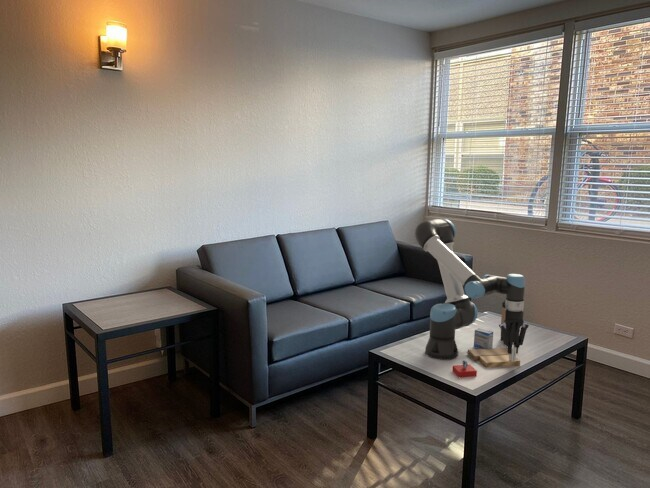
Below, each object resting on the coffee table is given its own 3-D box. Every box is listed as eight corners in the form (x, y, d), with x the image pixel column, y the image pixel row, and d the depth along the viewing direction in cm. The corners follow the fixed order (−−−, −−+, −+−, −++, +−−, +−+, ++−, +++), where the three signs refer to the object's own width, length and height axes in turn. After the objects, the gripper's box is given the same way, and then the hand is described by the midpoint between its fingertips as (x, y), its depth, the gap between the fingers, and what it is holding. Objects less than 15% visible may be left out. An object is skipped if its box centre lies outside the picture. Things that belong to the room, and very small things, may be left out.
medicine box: (473, 346, 252) (474, 330, 250) (477, 344, 255) (478, 327, 253) (488, 350, 246) (489, 333, 245) (492, 348, 249) (493, 331, 248)
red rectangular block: (469, 370, 225) (470, 356, 224) (476, 376, 218) (477, 362, 217) (452, 371, 223) (452, 357, 222) (458, 378, 217) (459, 364, 216)
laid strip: (474, 361, 234) (474, 356, 234) (467, 354, 242) (467, 349, 241) (515, 358, 236) (516, 353, 236) (507, 352, 244) (507, 347, 244)
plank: (485, 367, 227) (486, 362, 226) (479, 361, 234) (479, 356, 233) (519, 365, 229) (520, 360, 228) (512, 359, 236) (512, 354, 235)
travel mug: (518, 342, 257) (520, 304, 253) (502, 342, 257) (505, 304, 253) (512, 337, 264) (515, 300, 261) (498, 337, 264) (500, 300, 261)
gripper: (504, 312, 220) (501, 364, 223) (533, 310, 222) (530, 362, 225) (496, 307, 227) (494, 358, 231) (524, 306, 229) (522, 356, 233)
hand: (512, 360), depth 228 cm, fingers closed
